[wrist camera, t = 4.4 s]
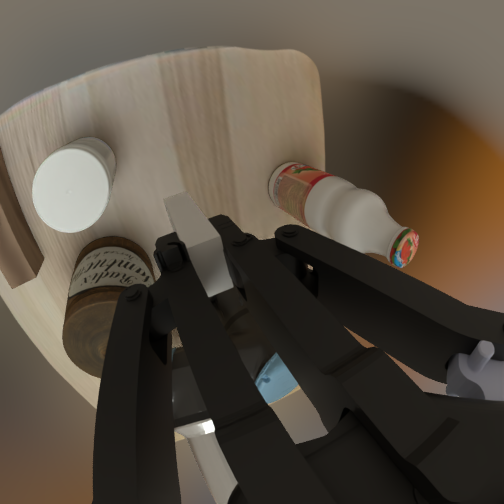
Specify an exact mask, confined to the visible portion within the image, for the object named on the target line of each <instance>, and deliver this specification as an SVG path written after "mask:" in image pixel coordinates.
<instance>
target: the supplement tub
mask: <svg viewBox="0 0 504 504" xmlns="http://www.w3.org/2000/svg"><path fill="white" fill-rule="evenodd" d="M115 171H116V160H115V156H114V153H113V151H112V150H111V148H110V147H109V146H108V145H107V144H106V143H105V142H104V141H102V140H100V139H98V138H94V137H84V138H80V139H78V140H75V141H73V142H71V143H69V144H67V145H65V146H63V147H61V148H59V149H57V150H56V151H54V152H53V153H51V154H50V155H49V156H48V157H47V158H46V159H45V160H44V161H43V163H42V164H41V165H40V167H39V168H38V170H37V172H36V174H35V177H34V181H33V186H32V198H33V203H34V206H35V209H36V211H37V213H38V215H39V216H40V218H41V219H42V220H43V221H44V222H45V223H46V224H47V225H48V226H50V227H51V228H53V229H55V230H57V231H60V232H66V233H73V232H79V231H82V230H85V229H87V228H88V227H90V226H91V225H93V224H94V223H95V222H96V221H97V220H98V219H99V218H100V216H101V215H102V214H103V212H104V210H105V208H106V206H107V204H108V202H109V199H110V195H111V190H112V185H113V180H114V176H115Z"/></svg>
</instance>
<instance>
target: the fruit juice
mask: <svg viewBox="0 0 504 504" xmlns="http://www.w3.org/2000/svg"><path fill="white" fill-rule="evenodd" d="M269 195H270V197H271V199H272V201H273V202H274V203H275V204H276V205H277V206H278V207H279V208H281V209H282V210H284V211H285V212H287V213H288V214H290V215H291V216H293V217H294V218H296V219H297V220H299V221H300V222H302V223H303V224H305V225H306V226H308V227H309V228H311V229H312V230H313V231H315V232H317V233H318V234H321V235H323V236H325V237H327V238H330V239H333V240H334V241H336V242H339V243H341V244H343V245H345V246H348V247H350V248H352V249H354V250H357V251H359V252H361V253H368V252H371V253H377V254H381V255H383V256H386V257H387V259H388V260H389V262H391V264H393V265H394V266H396V267H399V268H402V267H404V266H406V265H407V264H408V263H409V262H410V261H411V259H412V258H413V256H414V254H415V253H416V250H417V247H418V243H419V237H418V234H417V233H416V232H415V231H414V230H412V229H410V228H408V227H401V226H400V225H399V224H397V223H396V222H395V221H394V220H393V219H392V218H391V217H390V215H389V214H388V211H387V208H386V206H385V204H384V202H383V201H382V199H381V198H380V197H379V196H378V195H376V194H374V193H373V192H371V191H369V190H364V189H357V188H356V187H355V186H354V185H353V184H352V183H350V182H348V181H346V180H344V179H342V178H340V177H337V176H334V175H331V174H328V173H326V172H323V171H321V170H318V169H315V168H312V167H309V166H307V165H304V164H301V163H297V162H289V163H285V164H283V165H281V166H279V167H278V168H277V169H276V170H275V171H274V173H273V174H272V176H271V178H270V181H269Z"/></svg>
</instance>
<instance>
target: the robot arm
mask: <svg viewBox="0 0 504 504" xmlns="http://www.w3.org/2000/svg"><path fill="white" fill-rule="evenodd" d="M163 200H164V203H165V206H166V209H167V212H168V216H169V219H170V222H171V225H172V228H173V231H174V232H173V233H170V234H168V235H165V236H162V237H160V238H158V239H157V241H156V243H155V246H156V250H155V251H154V258H155V260H156V263H157V265H158V268H159V270H160V272H161V276H160V277H159V279H158V280H157V281H156V282H155V283H153V284H152V285H151V286H149V287H147V286H146V285H145V284H141V283H140V284H134V285H131V286H129V287H127V288H126V289H124V290H123V291H122V292H121V294H120V295H119V298H118V301H117V305H116V309H115V313H114V317H113V321H112V325H111V330H110V334H109V339H108V343H107V348H106V354H105V359H104V364H103V370H102V376H101V382H100V389H99V396H98V404H97V413H96V423H95V436H94V451H93V502H92V504H181V494H180V487H179V479H178V470H177V461H176V450H175V436H174V431H175V432H177V433H179V434H181V435H183V436H184V437H185V438H187V441H188V443H189V446H190V448H191V451H192V453H193V455H194V458H195V460H196V462H197V464H198V467H199V469H200V471H201V473H202V476H203V478H204V480H205V481H206V484H207V486H208V488H209V490H210V492H211V494H212V496H213V498H214V500H215V502H216V504H504V313H500V312H496V311H491V310H487V309H482V308H478V307H473V306H469V305H466V304H464V303H462V302H460V301H459V300H457V299H455V298H453V297H451V296H449V295H447V294H445V293H443V292H441V291H439V290H437V289H435V288H433V287H432V286H429V285H427V284H425V283H424V282H422V281H420V280H418V279H416V278H413V277H411V276H409V275H407V274H405V273H403V272H401V271H399V270H397V269H395V268H393V267H391V266H389V265H387V264H384V263H382V262H380V261H378V260H376V259H374V258H372V257H369V256H367V255H365V254H363V253H361V252H359V251H357V250H354V249H352V248H350V247H348V246H345V245H343V244H341V243H339V242H336V241H334V240H332V239H330V238H327V237H325V236H323V235H321V234H318V233H316V232H314V231H311V230H309V229H307V228H304V227H302V226H299V225H291V224H289V225H284V226H282V227H279V228H278V229H277V230H276V231H275V233H274V234H275V238H271V239H266V240H258V239H257V238H256V237H255V236H254V235H252V234H248V233H243V232H242V231H241V230H240V229H239V228H238V226H237V225H235V223H234V222H233V221H232V220H231V219H230V218H229V217H228V216H225V215H222V214H220V215H218V216H215V217H212V218H209V219H207V218H206V216H205V215H204V214H203V212H202V211H201V210H200V208H199V207H198V206H197V204H196V203H195V202H194V200H193V199H192V198H191V196H190V195H189V194H188V192H187V191H185V192H183V193H180V194H177V195H174V196H171V197H168V198H166V199H163ZM308 265H310V266H312V267H313V270H311V269H309V268H308ZM344 326H345V327H346V328H348V329H349V330H351V331H353V332H354V333H356V334H357V335H359V336H361V337H362V338H364V339H365V340H367V341H368V342H370V343H372V344H373V345H374V346H376V347H370V348H366V347H364V346H362V345H361V344H360V343H359V342H358V341H357V340H356V339H355V338H354V337H353V336H352V335H351V334H350V332H349V331H348V330H347V329H346V328H345V327H344ZM176 327H177V330H178V333H179V336H180V339H181V342H182V345H183V347H179V348H176V347H175V348H173V349H172V334H171V331H172V330H173V329H174V328H176ZM377 347H378V348H377ZM385 352H386V353H387V354H389V355H391V356H392V357H394V358H395V359H397V360H398V361H400V362H402V363H403V364H405V365H406V366H408V367H410V368H411V369H413V370H414V371H416V372H418V373H420V374H422V375H423V376H425V377H428V378H430V379H432V380H435V381H438V382H441V383H445V384H447V387H446V393H447V395H440V394H434V393H428V392H423V391H422V390H421V389H420V388H419V387H418V386H417V385H416V384H415V383H414V382H413V380H411V379H410V377H409V376H408V375H406V373H405V372H404V371H403V370H402V369H401V368H400V367H399V366H398V365H397V364H396V363H395V362H394V361H393V360H392V359H391V358H390V357H389V356H388V355H387V354H386V353H385ZM298 384H299V386H300V387H301V388H302V390H303V391H304V393H305V394H306V395H307V397H308V398H309V400H310V401H311V402H312V404H313V405H314V407H315V408H316V410H317V411H318V413H319V415H320V418H321V420H322V423H323V425H324V426H325V428H326V429H327V431H328V432H329V433H328V434H327V435H325V436H323V437H320V438H317V439H313V440H310V441H306V442H303V443H299V444H295V443H294V442H293V440H292V439H291V437H290V436H289V434H288V432H287V431H286V429H285V428H284V426H283V425H282V423H281V421H280V420H279V418H278V417H277V415H276V414H275V412H274V411H273V409H272V408H271V407H270V406H268V403H272V402H274V401H277V400H279V399H280V398H282V397H284V396H285V395H287V394H288V393H289V392H291V391H292V390H293V389H294V388H295V387H296V386H297V385H298ZM457 396H459V397H457Z"/></svg>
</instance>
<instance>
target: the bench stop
mask: <svg viewBox="0 0 504 504" xmlns="http://www.w3.org/2000/svg"><path fill="white" fill-rule="evenodd" d="M43 261H44V257H43V255H42V253H41V251H40V249H39V247H38V245H37V243H36V241H35V239H34V237H33V235H32V233H31V231H30V229H29V226H28V224H27V222H26V220H25V217H24V215H23V213H22V210H21V208H20V205H19V203H18V200H17V198H16V195H15V192H14V190H13V187H12V184H11V181H10V178H9V175H8V172H7V169H6V166H5V162H4V159H3V155H2V152H1V148H0V269H1V271H2V273H3V275H4V276H5V278H6V280H7V281H8V283H9V285H10V286H11V288H12V289H13V288H15V287H17V286H19V285H21V284H23V283H25V282H27V281H30V280H32V279H34V278H36V277H37V274H38V272H39V270H40V268H41V265H42V263H43Z"/></svg>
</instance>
